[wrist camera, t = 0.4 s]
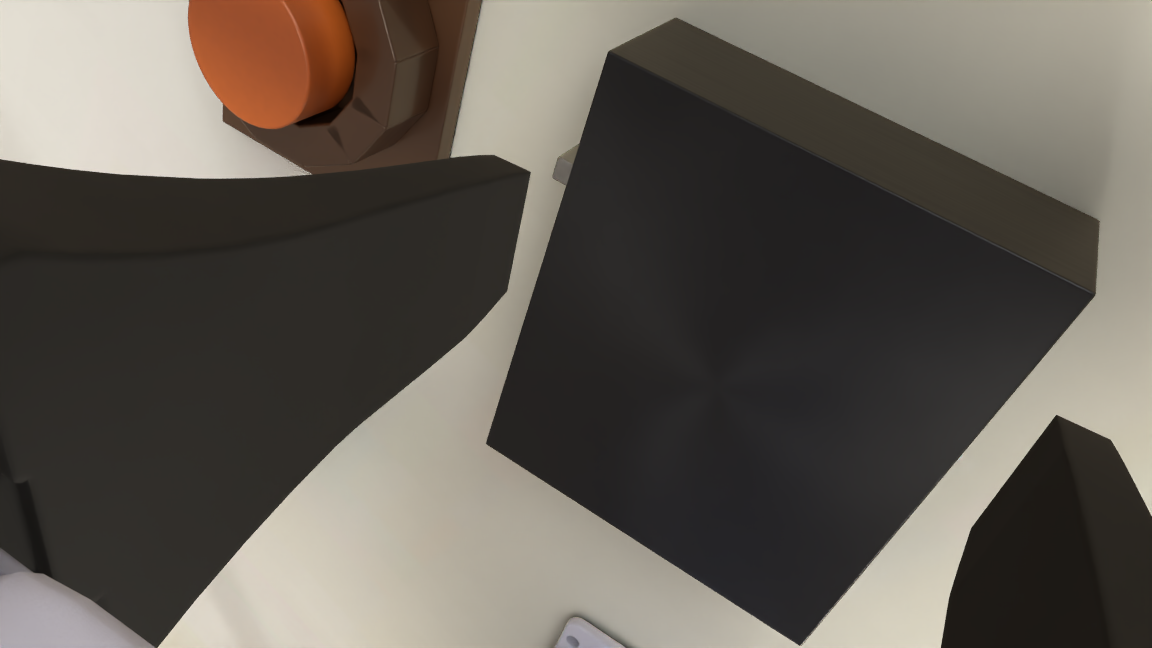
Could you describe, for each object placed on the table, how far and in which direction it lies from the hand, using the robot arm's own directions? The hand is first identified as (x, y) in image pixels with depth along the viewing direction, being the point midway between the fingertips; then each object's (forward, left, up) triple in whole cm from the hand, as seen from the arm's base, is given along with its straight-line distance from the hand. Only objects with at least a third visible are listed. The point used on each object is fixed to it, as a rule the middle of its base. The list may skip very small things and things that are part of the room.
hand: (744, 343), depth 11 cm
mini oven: (-6, +1, -10) cm, 12 cm away
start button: (-4, +15, -8) cm, 17 cm away
